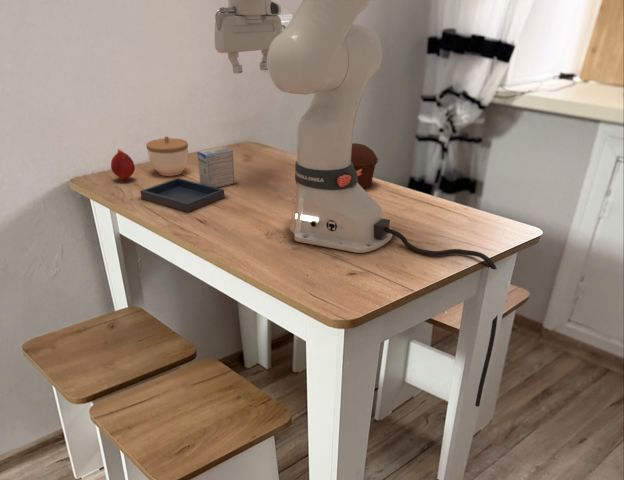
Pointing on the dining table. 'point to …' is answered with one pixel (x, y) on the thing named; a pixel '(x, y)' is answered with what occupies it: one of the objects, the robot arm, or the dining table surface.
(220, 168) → the medicine box
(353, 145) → the muffin
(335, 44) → the robot arm
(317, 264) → the dining table surface
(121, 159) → the onion
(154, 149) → the trinket box
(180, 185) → the tray
